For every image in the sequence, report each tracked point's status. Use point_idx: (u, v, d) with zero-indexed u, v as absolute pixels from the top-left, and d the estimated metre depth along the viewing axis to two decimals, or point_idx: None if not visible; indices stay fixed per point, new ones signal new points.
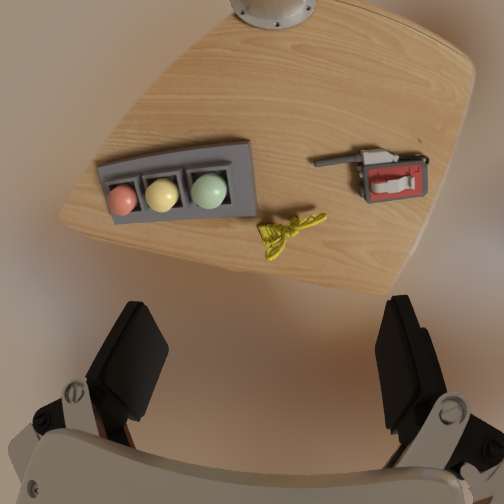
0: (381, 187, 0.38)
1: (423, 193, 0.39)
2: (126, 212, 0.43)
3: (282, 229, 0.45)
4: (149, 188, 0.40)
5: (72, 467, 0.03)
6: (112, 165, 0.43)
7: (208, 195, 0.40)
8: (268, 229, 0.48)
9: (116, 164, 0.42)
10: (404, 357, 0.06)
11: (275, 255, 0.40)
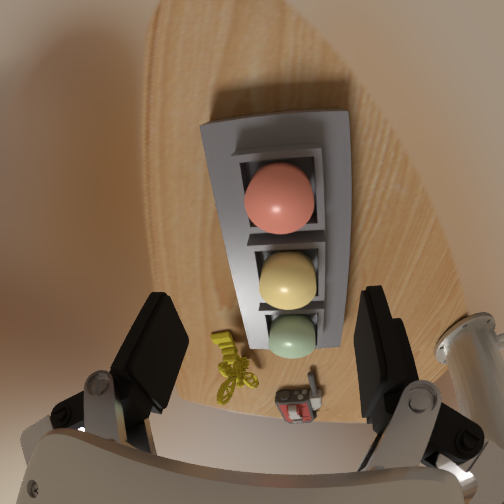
0: (293, 413, 0.45)
1: (287, 421, 0.51)
2: (254, 217, 0.20)
3: (237, 367, 0.38)
4: (307, 276, 0.23)
5: (72, 467, 0.03)
6: (348, 155, 0.20)
7: (288, 345, 0.28)
8: (229, 346, 0.39)
9: (348, 165, 0.21)
10: (373, 344, 0.07)
11: (224, 403, 0.32)
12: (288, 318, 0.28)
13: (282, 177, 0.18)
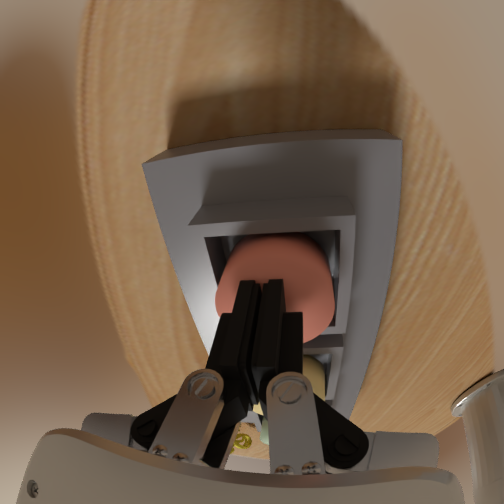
0: None
1: None
2: None
3: None
4: None
5: (72, 467, 0.03)
6: (394, 217, 0.12)
7: None
8: None
9: (392, 233, 0.12)
10: (255, 333, 0.08)
11: None
12: None
13: (280, 272, 0.10)
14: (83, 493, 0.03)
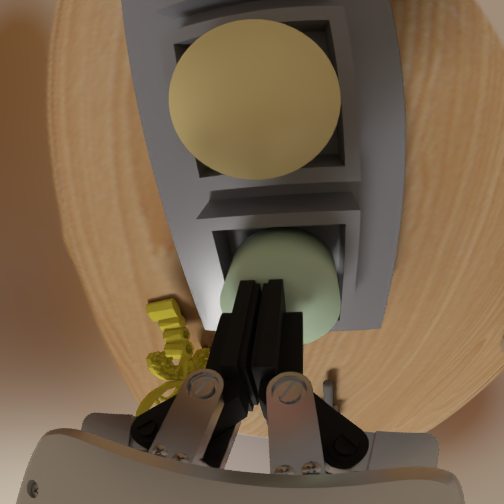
0: None
1: None
2: None
3: (187, 364, 0.21)
4: (307, 49, 0.06)
5: (72, 467, 0.03)
6: None
7: None
8: (174, 325, 0.22)
9: None
10: (255, 332, 0.08)
11: None
12: (269, 236, 0.11)
13: None
14: (83, 493, 0.03)
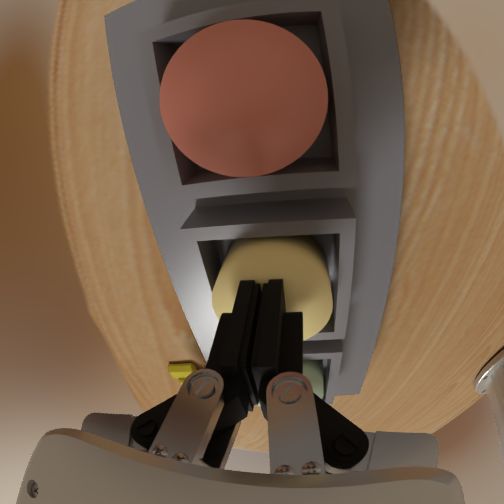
0: None
1: None
2: (182, 137, 0.08)
3: None
4: (314, 282, 0.10)
5: (72, 467, 0.03)
6: (392, 39, 0.07)
7: None
8: None
9: (394, 60, 0.08)
10: (255, 333, 0.08)
11: None
12: None
13: (244, 34, 0.06)
14: (83, 493, 0.03)
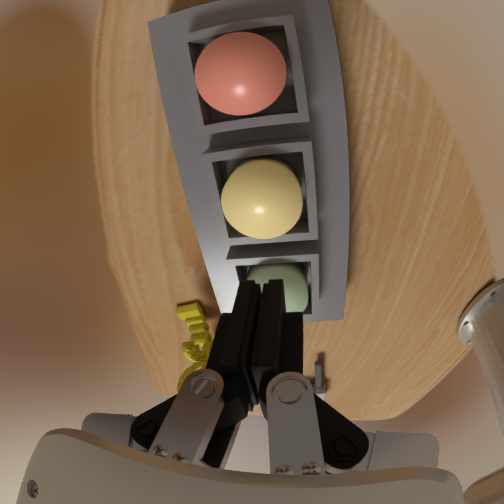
0: None
1: None
2: (207, 94, 0.13)
3: (208, 349, 0.30)
4: (287, 181, 0.16)
5: (72, 467, 0.03)
6: (332, 35, 0.13)
7: None
8: (198, 321, 0.31)
9: (334, 48, 0.13)
10: (255, 333, 0.08)
11: None
12: None
13: (241, 39, 0.11)
14: (83, 493, 0.03)
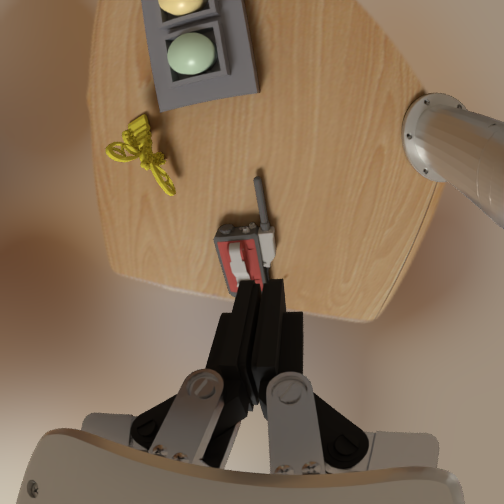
0: (235, 255, 0.39)
1: (232, 293, 0.45)
2: None
3: (146, 148, 0.32)
4: None
5: (72, 467, 0.03)
6: None
7: (185, 54, 0.23)
8: (143, 128, 0.32)
9: None
10: (255, 332, 0.08)
11: (113, 157, 0.26)
12: None
13: None
14: (83, 493, 0.03)
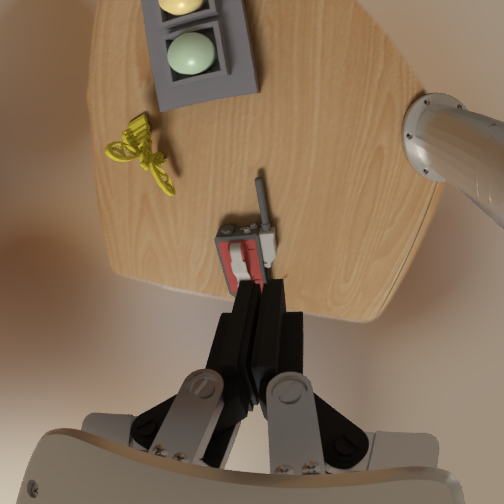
0: (236, 255, 0.39)
1: (232, 293, 0.45)
2: None
3: (146, 148, 0.32)
4: None
5: (72, 467, 0.03)
6: None
7: (185, 54, 0.23)
8: (143, 128, 0.32)
9: None
10: (255, 332, 0.08)
11: (113, 157, 0.26)
12: None
13: None
14: (83, 493, 0.03)
